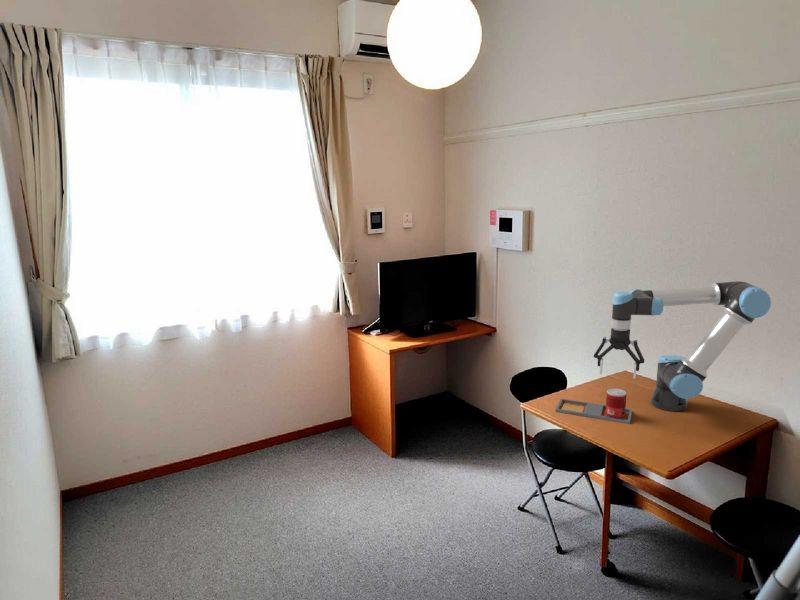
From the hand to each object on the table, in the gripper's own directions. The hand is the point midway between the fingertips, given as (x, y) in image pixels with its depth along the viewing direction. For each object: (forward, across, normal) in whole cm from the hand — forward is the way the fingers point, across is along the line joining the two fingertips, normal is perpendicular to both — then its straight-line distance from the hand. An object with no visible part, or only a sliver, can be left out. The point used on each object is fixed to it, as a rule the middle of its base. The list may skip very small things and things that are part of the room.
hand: (617, 375), depth 237 cm
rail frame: (+18, +9, 0) cm, 21 cm away
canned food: (+19, 0, 0) cm, 19 cm away
